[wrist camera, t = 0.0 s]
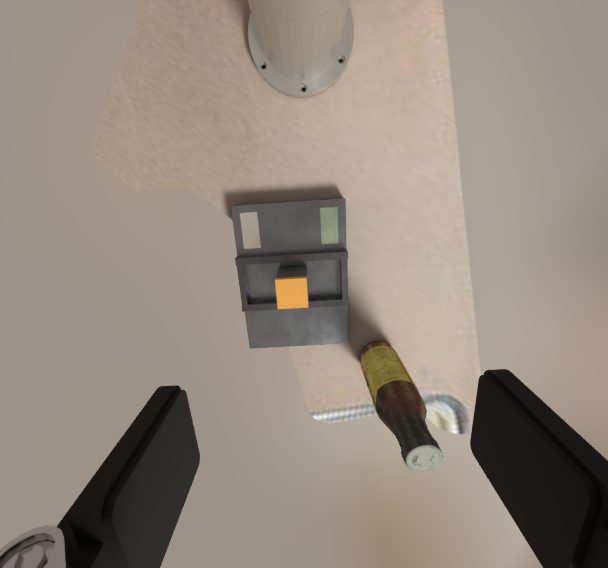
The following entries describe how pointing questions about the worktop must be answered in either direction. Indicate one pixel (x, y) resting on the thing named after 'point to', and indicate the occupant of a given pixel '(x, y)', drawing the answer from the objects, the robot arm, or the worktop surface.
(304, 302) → the toggle
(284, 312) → the panel
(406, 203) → the worktop surface
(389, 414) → the sauce bottle
